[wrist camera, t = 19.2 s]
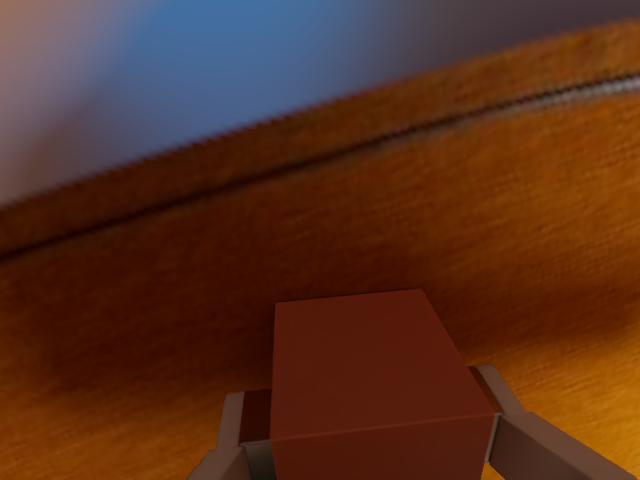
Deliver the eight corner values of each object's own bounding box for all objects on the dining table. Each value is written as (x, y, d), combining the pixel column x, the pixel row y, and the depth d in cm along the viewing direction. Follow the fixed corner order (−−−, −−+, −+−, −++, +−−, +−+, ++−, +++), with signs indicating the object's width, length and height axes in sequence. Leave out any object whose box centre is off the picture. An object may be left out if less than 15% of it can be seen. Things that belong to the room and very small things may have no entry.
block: (289, 405, 13) (291, 558, 9) (275, 301, 11) (269, 440, 7) (413, 391, 13) (469, 535, 9) (421, 287, 11) (497, 413, 7)
